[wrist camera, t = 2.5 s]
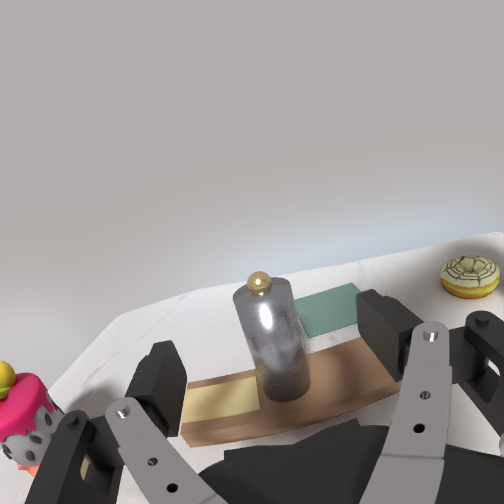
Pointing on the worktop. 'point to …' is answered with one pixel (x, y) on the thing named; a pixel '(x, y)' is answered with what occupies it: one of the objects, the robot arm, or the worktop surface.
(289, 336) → the cylinder with brass knob
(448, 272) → the decorated donut
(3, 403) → the cake
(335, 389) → the plane body
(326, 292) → the felt mat
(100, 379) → the worktop surface
